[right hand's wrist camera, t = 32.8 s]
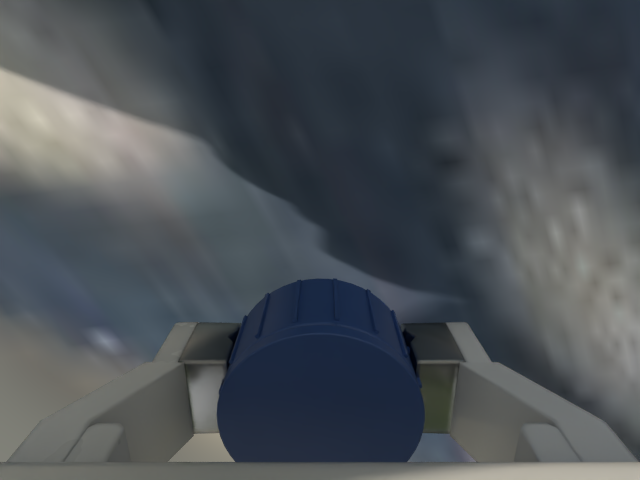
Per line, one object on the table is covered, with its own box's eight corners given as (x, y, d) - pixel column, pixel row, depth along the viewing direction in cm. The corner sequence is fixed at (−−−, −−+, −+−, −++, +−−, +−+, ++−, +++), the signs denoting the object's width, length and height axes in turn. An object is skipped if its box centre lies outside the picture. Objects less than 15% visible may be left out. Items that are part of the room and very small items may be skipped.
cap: (365, 248, 9) (378, 298, 7) (429, 385, 10) (456, 462, 8) (205, 316, 10) (174, 380, 8) (284, 438, 11) (275, 521, 9)
